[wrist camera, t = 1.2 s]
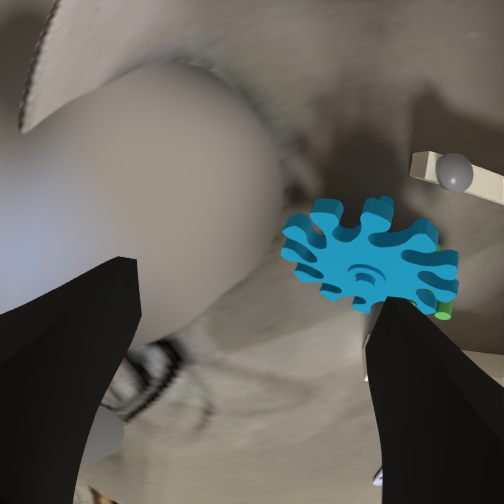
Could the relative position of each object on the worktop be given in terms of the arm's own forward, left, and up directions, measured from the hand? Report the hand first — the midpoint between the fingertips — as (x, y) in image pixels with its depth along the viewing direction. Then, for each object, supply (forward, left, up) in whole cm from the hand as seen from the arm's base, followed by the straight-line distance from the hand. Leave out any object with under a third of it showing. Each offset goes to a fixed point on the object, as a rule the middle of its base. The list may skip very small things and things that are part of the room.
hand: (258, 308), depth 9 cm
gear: (-1, -5, -12) cm, 13 cm away
